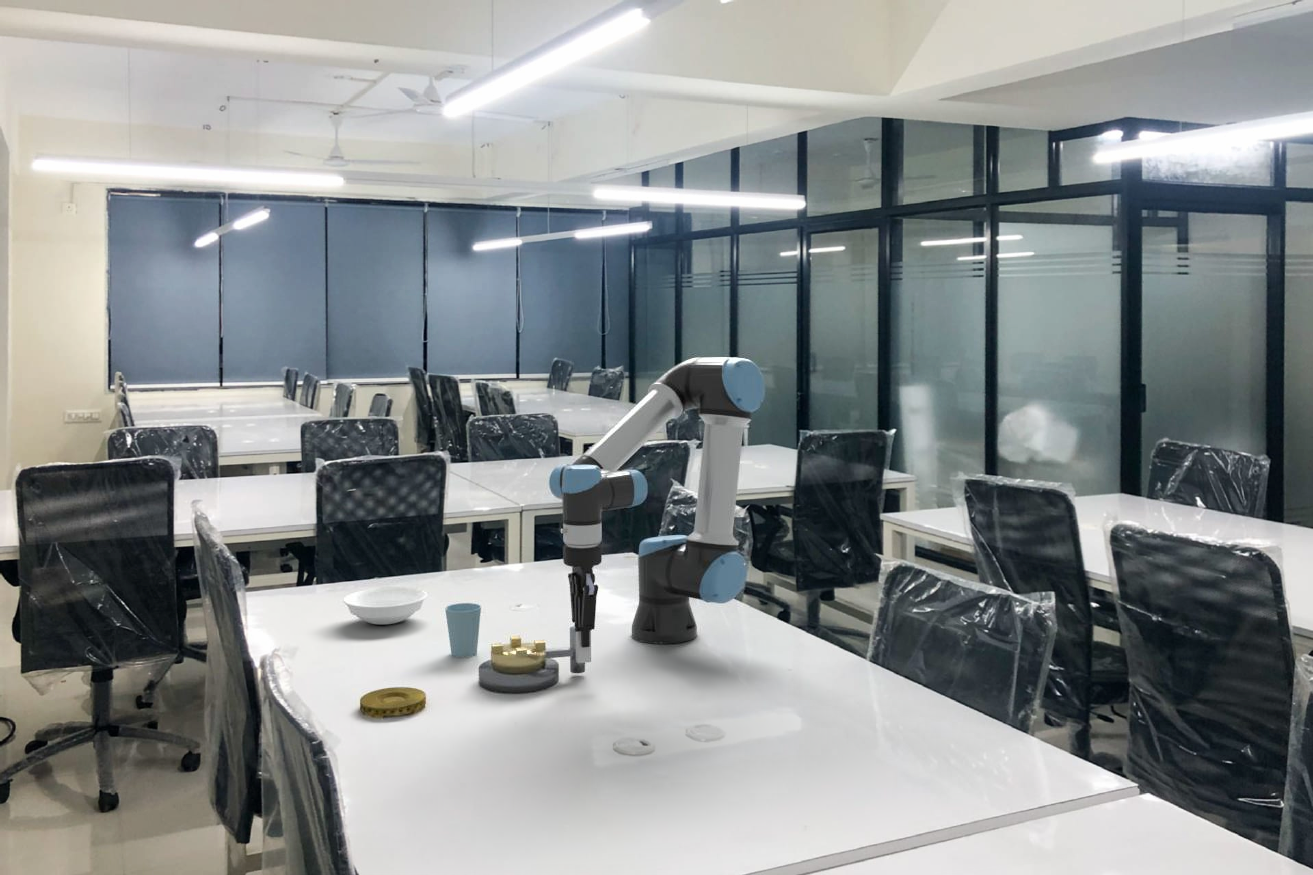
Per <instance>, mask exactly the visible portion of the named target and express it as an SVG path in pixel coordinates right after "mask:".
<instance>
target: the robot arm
mask: <svg viewBox="0 0 1313 875" xmlns="http://www.w3.org/2000/svg"><path fill="white" fill-rule="evenodd" d="M765 385H766V384H765V378H764V376H763V372H762V371H760V368H759V366H758V365H757V364H756V363H755V362H753V361H752V360H750V359H747V358H744V357H743V358H741V357H737V356H736V357H735V356H734V357H731V356H729V357H721V356H719V357H718V356H717V357H705V356H701V357H700V356H697V357H693V358H689V359H687V360H684V361H682V362H680V363H678V364H676V365H674V366H673V367H671V368H670V369H669V370H667V371H665V373H663V374H662V375H661V376H660V377H659V378H657V379H656V380H655V381H653V383H652V384H650V385H649V387H648V389H647V395H645V396H644V397H643V398H642V399H641V400H640V401H639V402H638V403H637V404H636V405H634V406H633V407H632V408H631V409H630V410H629V411H628V412H627V413H626V414H625V415H624V416H623V417H622V418H621V419H620V420H618V421H617V422H616V423H615V424H614V425H613V426H612V427H610V429H609V430H607V431H606V432H605V434H603V435H602V436H601V437H600V438H599V439H598V440H597V441H596V442H595V443H594V444H593V445H592V446H590V447H589V448H588V449H587V450H586V451H585V452H584V453H583V454H582V455H580V456H579V458H577V459H576V460H575V461H574V462H573V463H571V464H569V463H566V464H559V465H558V466H556V467H555V468H553V470H552V471H551V473H550V476H549V480H548V485H549V489H550V491H551V492H550V493H551V494H552V495H553V496H554V497H555V498H557V499H559V500H562V523H563V524H562V527H563V528H561V529H560V533H561V535H562V534H563V535H562V536H563V538H562V540H563V543H564V545H563V548H562V555H563V557H562V560H563V564H564V565H565V566H568V567H570V568H571V571H572V572H570V573H568V574H567V578H568V582H569V592H570V594H569V595H570V608H571V622H572V623H574V625H573V626H575V632H576V662H577V663H585V664H586V663H591V662H592V630H595V627H596V611H597V608H596V607H597V596H598V591H599V585H598V584H595V583H596V576H595V573H594V570H593V568H594V567H595V566H599V565H600V564H601V563H602V560H603V559H602V558H603V557H602V555H603V554H602V545H601V544H600V543H601V542H602V539H603V537H602V536H603V535H602V533H603V531H602V528H603V527H602V512H606V511H612V510H619V509H624V508H627V509H630V508H632V507H635V506H639V505H642V503H644V501H645V500H646V499H647V496H648V491H649V490H648V482H647V479H646V477H645V476H644V474H643V473H642V472H641V471H639V470H637V469H623V470H619V469H620V467H622V466H623V465H624V464H625V463H626V462H627V461H628V460H629V459H630V458H631V457H632V456H633V455H634V454H635V453H636V452H638V450H639V449H640V448H642V447H643V446H644V445H645V443H647V442H648V441H649V440H650V439H651V438H652V437H653V436H654V435H655V434H656V433H657V432H659V430H660V429H662V428H663V427H664V425H666V424H667V423H668V422H669V421H670V420H672V419H673V420H676V419H677V418H680V416H682V415H683V414H684V413H686V412H687V411H690V410H693V409H699V410H698V411H699V412H698V417H700V419H701V420H702V422H704V430H703V437H702V438H703V440H702V449H701V461H700V467H699V469H700V471H699V478H698V490H697V500H696V507H695V508H696V509H695V517H694V518H695V519H694V528H693V531H692V532H691V533H690V534H689V535H684V534H675V535H673V534H672V535H661V536H655V537H649V538H645V539H643V540H642V541H641V542H640V543H639V547H638V556H637V562H638V563H637V564H638V567H637V568H638V604H637V607H636V611H635V614H634V617H633V621H632V624H631V637H632V638H633V639H634V640H637V641H640V642H643V643H649V644H656V645H658V644H662V645H663V644H664V645H666V644H667V645H668V644H669V645H670V644H679V643H685V641H686V642H689V641H692V640H693V639H696V638H697V636H698V626H697V622H696V619H695V615H694V613H693V610H692V606H691V604H690V598H691V599H694V600H701V601H703V602H705V603H714V604H726V603H728V602H730V601H732V600H734V599H735V598H736V597H737V595H738V594H739V593H740V592H741V591H742V589H743V587H744V585H745V582H746V580H747V575H748V574H747V572H748V567H747V566H748V565H747V563H746V562H745V561H746V560H745V557H744V556H743V555H742V554H740V553H739V542H738V540H737V539H736V538H735V537H734V535H733V533H734V526H735V525H734V524H735V523H734V522H735V514H736V503H737V493H738V485H739V483H738V482H739V472H740V463H741V455H742V444H743V443H742V442H743V436H744V435H743V434H744V433H743V432H744V429H745V426H746V425H748V424H749V423H750V422H751V421H752V413H754V412H755V411H758V410H759V408H760V407H761V404H763V402H764V400H765V397H766V396H765V395H766V386H765Z"/></svg>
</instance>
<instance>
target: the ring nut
mask: <svg viewBox="0 0 1313 875" xmlns="http://www.w3.org/2000/svg"><path fill="white" fill-rule="evenodd" d="M490 645H491V648H490V660H491V667H492V669H493V670H495V671H498V672H502V673H528V672H533V671H537V670H540V669H542V668H544V667H545V666H546V658H551V659H555V658H566V657H569V666H570V669H569V670H570V673H571V674H583V673H584V672H586V663H577V662H576V632H575V625H573V626H570V627H569V646H565V647H552V648H551V647H550V648H546V641H545V639H538V640H537V639H534V640H533V642H522V638H521V636H520V635H513V636H509V643H505V644H502V642H500V643H499V642H498V643H497V642H496V643H491V644H490Z"/></svg>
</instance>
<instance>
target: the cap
mask: <svg viewBox="0 0 1313 875" xmlns="http://www.w3.org/2000/svg"><path fill="white" fill-rule="evenodd" d="M559 667H560V665H559V663H558V661H557V660H555V658H546V666H545V667H544V668H542V669H540V670H537V671H533V672H528V673H502V672H498V671H495V670H493V669H492V667H491V659H488V660H486V661H484V662H482V663H481V664H479V666H478V684H479V687H480V688H481V689H483V690H485V691H488V692H491V693H494V694H495V693H496V694H502V695H504V694H505V695H523V694H524V695H525V694H532V693H538V692H542V691H545V690H549V689H550V688H551V689H552V688H553V687H555V686H556V685H558V684H559V681H560V668H559Z"/></svg>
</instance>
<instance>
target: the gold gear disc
mask: <svg viewBox="0 0 1313 875" xmlns="http://www.w3.org/2000/svg"><path fill="white" fill-rule="evenodd" d="M426 703H427V694H426V692H425V691H423V690H422V689H419V688H414V687H406V686H401V687H399V686H397V687H396V686H395V687H386V688H380V689H375V690H373V691H369V692H368V693H366V694H363V695H362V696H361V697H360V698H359V706H360V707H359V708H360V710H361V711H362V712H363V713H365V716H366V717H369V718H373V719H383V718H384V717H394V716H401V715H406V714H413V715H415V714H417V713H420V712H422V711H423V710H425V709H426Z"/></svg>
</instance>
